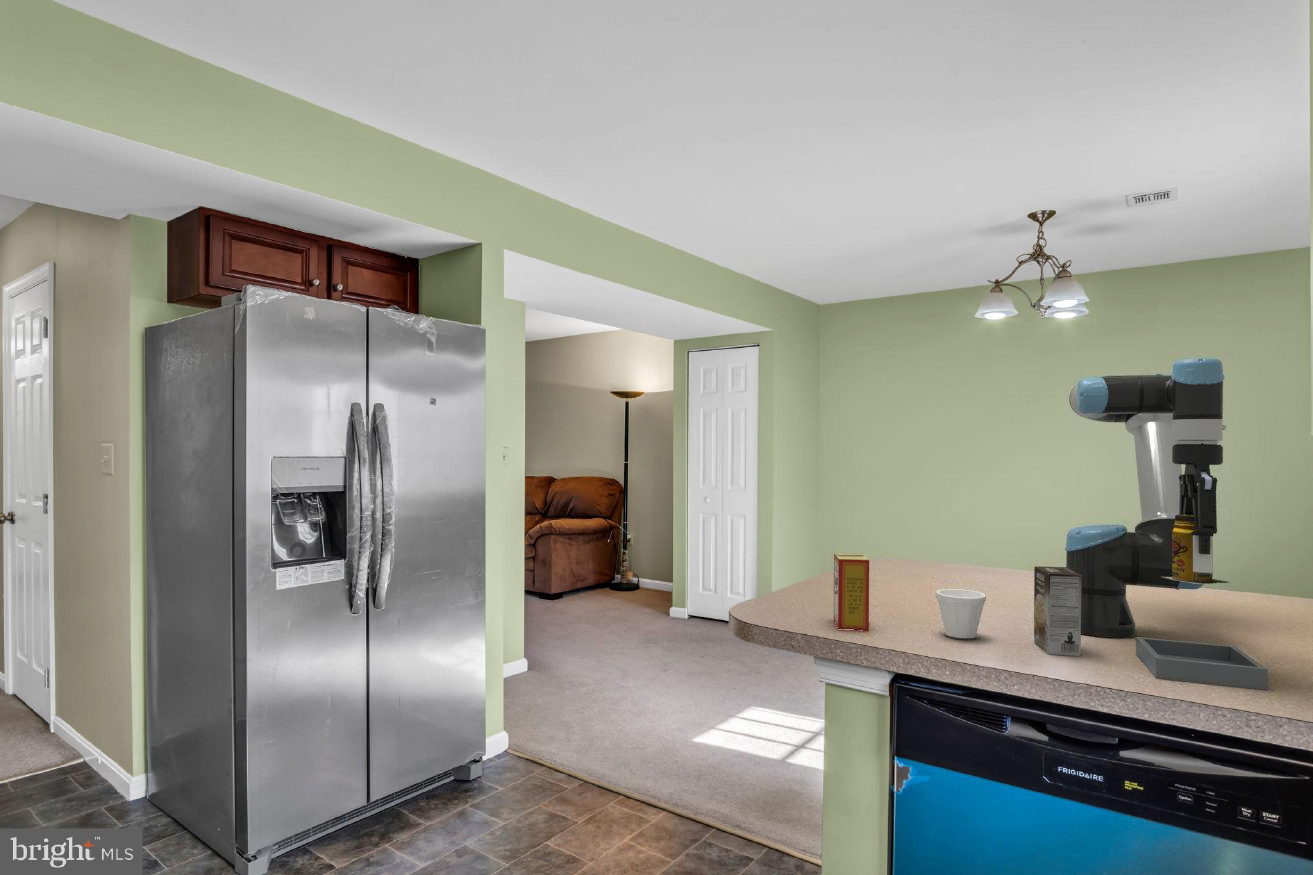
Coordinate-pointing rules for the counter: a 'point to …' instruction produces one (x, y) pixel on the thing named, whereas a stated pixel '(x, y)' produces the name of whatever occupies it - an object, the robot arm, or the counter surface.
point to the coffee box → (1057, 610)
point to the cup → (960, 612)
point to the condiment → (1187, 553)
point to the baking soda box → (851, 591)
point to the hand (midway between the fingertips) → (1196, 569)
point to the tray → (1201, 663)
